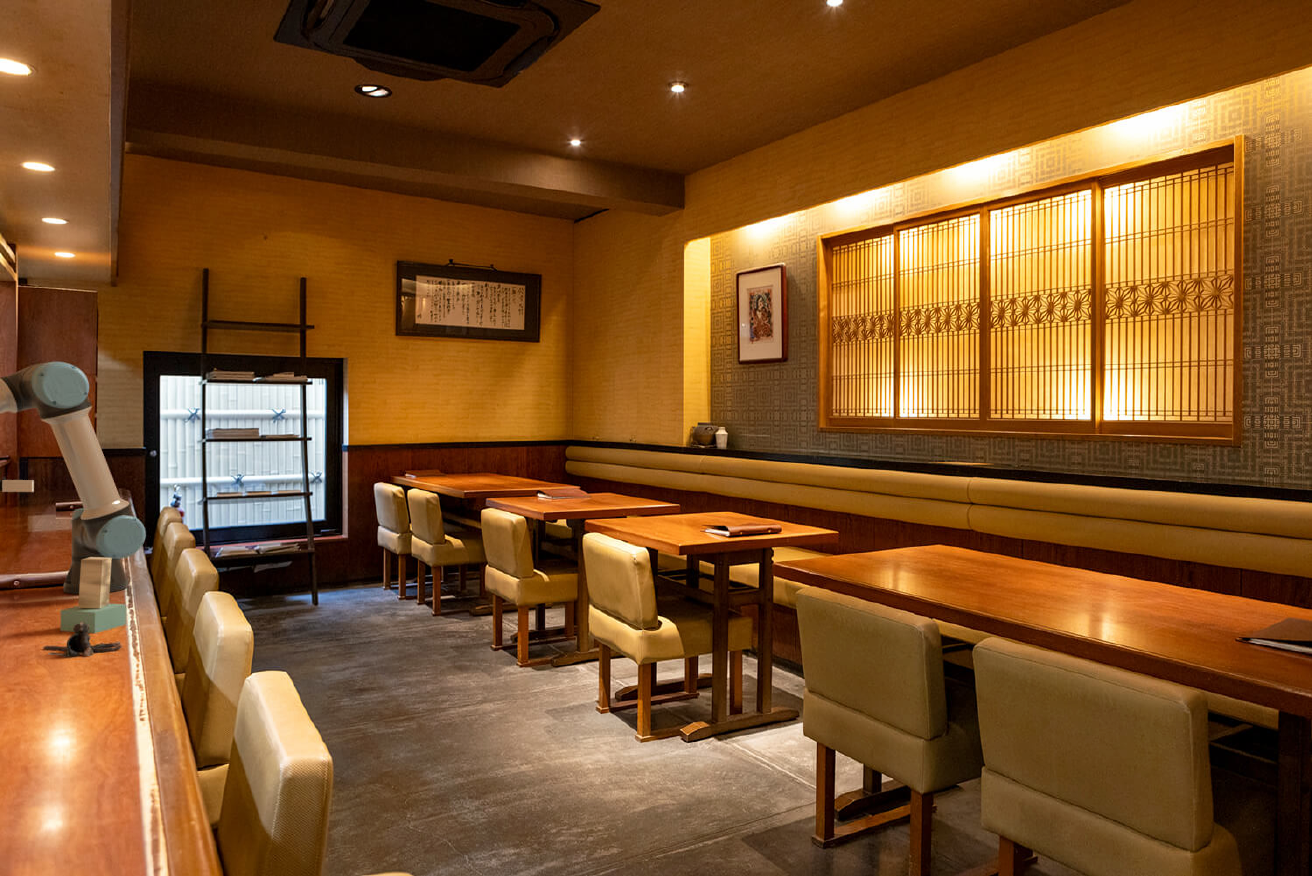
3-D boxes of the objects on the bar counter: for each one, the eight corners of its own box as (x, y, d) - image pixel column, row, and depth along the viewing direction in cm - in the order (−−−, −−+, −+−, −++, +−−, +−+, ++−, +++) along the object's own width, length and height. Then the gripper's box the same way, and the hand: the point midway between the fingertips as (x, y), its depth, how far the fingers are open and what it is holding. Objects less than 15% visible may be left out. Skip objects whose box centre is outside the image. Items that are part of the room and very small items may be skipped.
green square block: (92, 623, 208) (93, 602, 208) (126, 625, 206) (126, 604, 206) (60, 632, 199) (60, 610, 199) (94, 634, 198) (95, 612, 198)
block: (87, 604, 205) (90, 557, 205) (108, 604, 206) (111, 557, 206) (78, 607, 201) (81, 559, 201) (99, 608, 201) (102, 560, 201)
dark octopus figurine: (119, 650, 181) (62, 620, 176) (87, 692, 179) (29, 663, 174) (127, 636, 191) (74, 608, 187) (97, 675, 189) (42, 648, 185)
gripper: (-49, 499, 213) (46, 499, 216) (-127, 510, 188) (-19, 510, 191) (-49, 468, 213) (46, 469, 215) (-127, 474, 188) (-19, 475, 191)
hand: (16, 488), depth 203 cm, fingers open, 13 cm apart
